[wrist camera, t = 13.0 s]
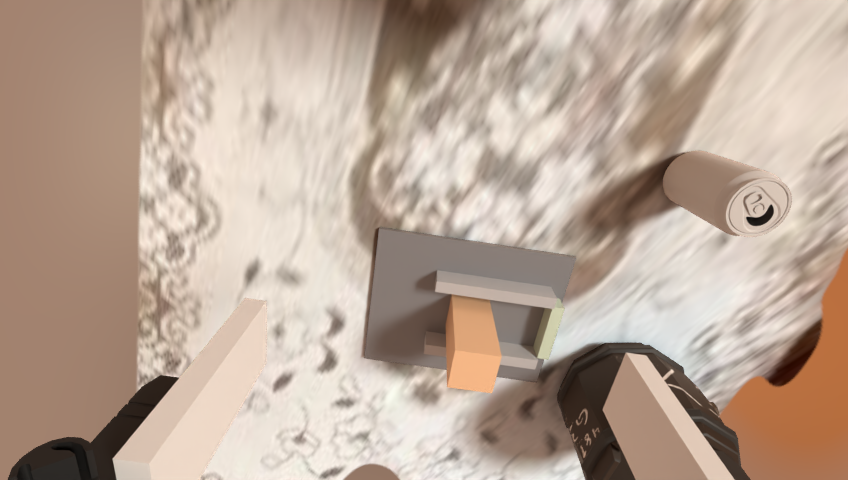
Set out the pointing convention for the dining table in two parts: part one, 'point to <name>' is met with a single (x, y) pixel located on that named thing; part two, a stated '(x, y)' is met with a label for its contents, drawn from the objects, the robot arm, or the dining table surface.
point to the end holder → (466, 276)
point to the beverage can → (727, 193)
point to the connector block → (471, 344)
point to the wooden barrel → (589, 394)
